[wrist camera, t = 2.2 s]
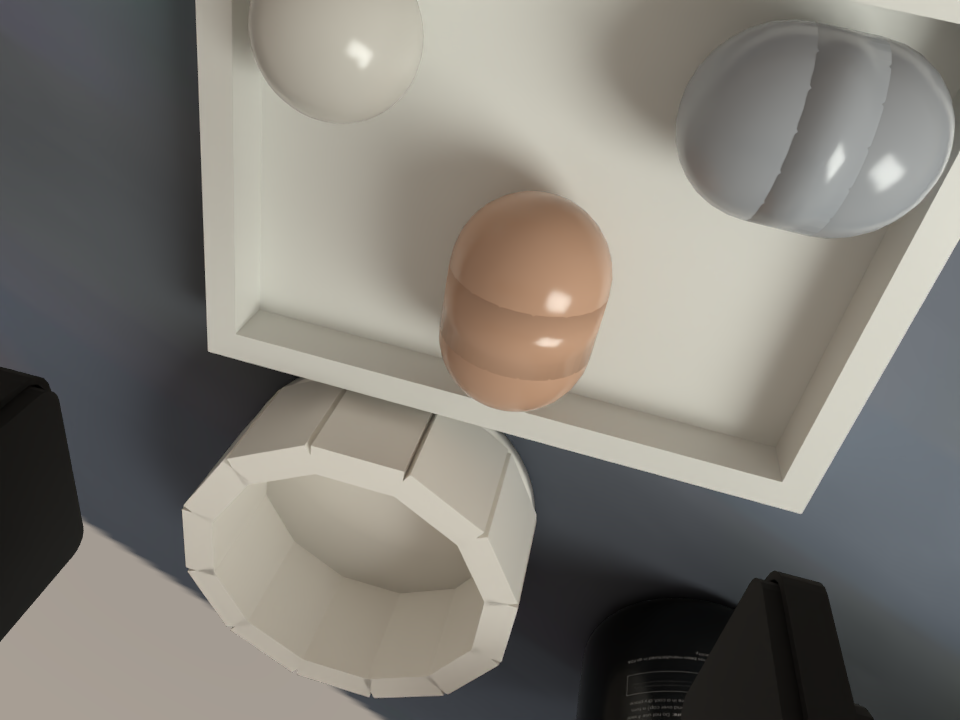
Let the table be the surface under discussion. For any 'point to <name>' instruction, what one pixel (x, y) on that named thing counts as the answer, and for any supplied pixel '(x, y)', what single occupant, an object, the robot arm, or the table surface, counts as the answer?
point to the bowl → (365, 541)
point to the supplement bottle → (647, 658)
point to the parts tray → (595, 188)
